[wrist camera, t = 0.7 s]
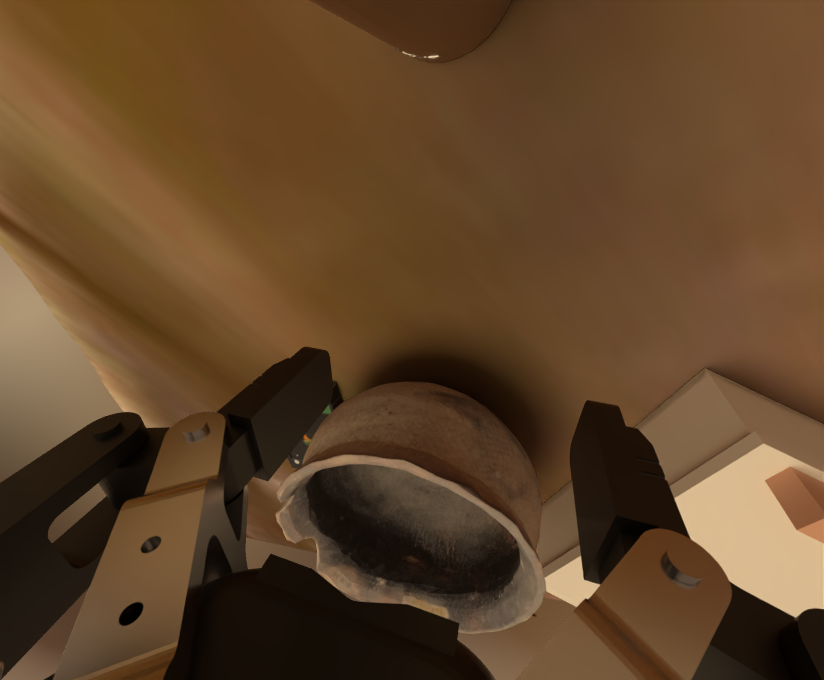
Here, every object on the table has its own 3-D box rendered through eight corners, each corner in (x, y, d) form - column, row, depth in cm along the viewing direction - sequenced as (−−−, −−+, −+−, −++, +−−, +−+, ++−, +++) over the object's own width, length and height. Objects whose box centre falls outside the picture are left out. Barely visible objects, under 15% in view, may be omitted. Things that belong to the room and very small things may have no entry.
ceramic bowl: (325, 347, 38) (224, 451, 26) (533, 333, 30) (529, 477, 17) (381, 483, 48) (328, 605, 36) (549, 501, 40) (554, 667, 27)
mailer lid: (754, 431, 21) (797, 491, 17) (1026, 560, 20) (1129, 651, 16) (534, 573, 35) (533, 622, 32) (685, 652, 34) (701, 711, 31)
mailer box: (704, 367, 27) (749, 432, 21) (905, 462, 26) (1008, 556, 20) (537, 508, 41) (537, 570, 35) (664, 573, 40) (685, 647, 34)
